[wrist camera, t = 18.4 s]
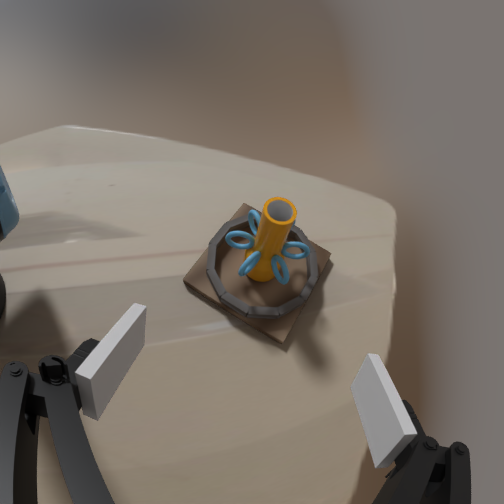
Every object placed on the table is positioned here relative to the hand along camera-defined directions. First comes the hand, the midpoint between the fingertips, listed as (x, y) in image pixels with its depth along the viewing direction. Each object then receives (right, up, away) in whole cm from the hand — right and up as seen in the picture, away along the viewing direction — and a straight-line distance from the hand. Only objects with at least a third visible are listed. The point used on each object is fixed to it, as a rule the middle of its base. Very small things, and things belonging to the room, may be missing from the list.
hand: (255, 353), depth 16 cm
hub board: (+1, +3, +33) cm, 33 cm away
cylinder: (+1, +3, +32) cm, 32 cm away
